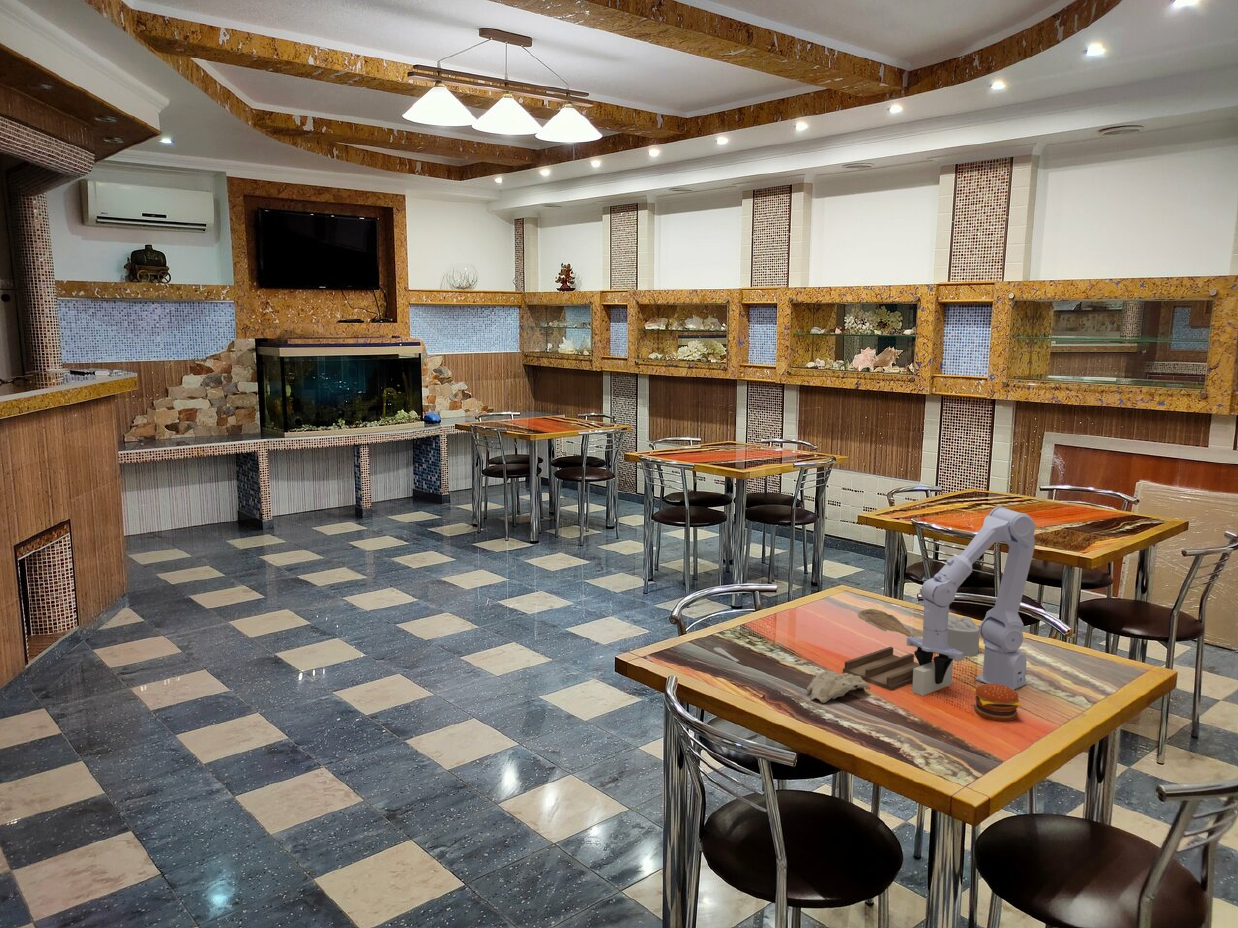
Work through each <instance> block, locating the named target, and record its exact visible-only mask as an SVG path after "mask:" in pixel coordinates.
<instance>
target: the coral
mask: <svg viewBox="0 0 1238 928" xmlns="http://www.w3.org/2000/svg"><path fill="white" fill-rule="evenodd" d="M857 689H865V690H869V691H870V690H871V689H872V687H871V685H870V684H869V682H867V681H865V680H862V678H861V677H860V676H854V675H853V674H848V673H841V674H839V673H838V672H836V671H831V670H823V671H822V672H819V673H815V674H814V675H813V677H812V678H811V681H810V683H809V685H808V686H807V687H806V691H807V692H808V693H810V701H813V700H815V699H816V700H817V699H818V701H820V703H823V704H825V703H826V702H828V701H829V700H831V699H832V700H835V699H837V698H839V697H844V696H845V694H847V693H848V692H850V691H854V690H857Z"/></svg>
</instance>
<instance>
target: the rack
mask: <svg viewBox="0 0 1238 928" xmlns="http://www.w3.org/2000/svg"><path fill="white" fill-rule="evenodd" d="M914 660H915V655H914V653H908V654H905V655H903V656H898V655H895V654H894V647H893V646H888V647H885V648H882V649H879V650H875V651H873V652H870V653H866V654H864V655H861V656H858V657H855V658H852V659H849V660H846V661H844V668H842V674H844V673H848V674H853V675H854V676H860V677H861V678H862V680H863V681H864V682H866V683H870V684H871V685H876V686H878V687H881V688H883V689H885V690H889V691H895V690H897V689H899V688H902V687H904V686H907V685H910V684H913V669H914V668H916V667H919V666H920V665H919V662H915V661H914ZM933 661H934V660H932V662H933Z"/></svg>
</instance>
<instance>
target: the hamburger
mask: <svg viewBox="0 0 1238 928" xmlns="http://www.w3.org/2000/svg"><path fill="white" fill-rule="evenodd" d="M972 692H973V693H974V694H975V705H974V711H975V713H976V714H977V715H978V716H981V717H983V718H985V719H988V720H992V721H996V722H997V721H998V722H1008V721H1009V722H1010V721H1013V720H1015V719H1017V717H1018V712H1017V708H1018V707H1019V708H1023V705H1022V704H1021V702H1020V700H1019V694H1018V692H1017V691H1016V690H1015V689H1014V690H1013V689H1011V688H1009V687H1007V686H1005V685H1001V684H993V683H983V684H982V685H979V686H977V687H976V688H973V689H972Z"/></svg>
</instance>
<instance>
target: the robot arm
mask: <svg viewBox="0 0 1238 928" xmlns="http://www.w3.org/2000/svg"><path fill="white" fill-rule="evenodd" d="M982 524H983V525H982V527H981V528H980V529H979V530H978V532H977V533H976V535H975V536H973V538H972V540H971V541H970V542H969V543H968V545H967V546H966V547H965V549H964V550H963V551H962V552H961V554H959V555H952V557H949V558H948V559H947V560H946V563H945V564H944V565H943V567H942V568H941V569H940V570H939V571H938V572H937V573H935V574H934V576H933V577H931V578H929V579H927V580H926V581H924V582H923V584H922V586H921V588H919V594H920V596H921V597H922V600H923V605H924V606H923V621H922V625H923V626H922V638H919V637H915V636H914V637H912V636H911V637H907V638H906V646H909V647H915V648H917V649H916V650H915V651H913V652H914V653H913V654H914V657H916V660H917V663H919V665H920V666H922V665H925V664H927V663H930V662H932V661H934V664H935V683H936V684H940V683H942V682H943V679H944V676H945V673H946V671H947V669H948V667H949V665H950V663H951V662H952V661H955V662H959V663H960V662H961V661H964V660H963V659H964V656H963V652H960V651H958V650H956V649H954V648H952V647H950V646H948V645H947V633H948V615H950V614H949V613H950V605H951V604H952V603H953V602H954V601H955V598H956V593H957V592H958V588H959V587H960V586H961V585H962V584H963V583H964V581H966V579H967V578H968V577H969V576H970V575H971V573H973V564H974V563H976V561H977V560H978V559H980V557H981V556H982V555H983V554H985V553H986V551H987V550H989V549H990V548H991V546H993V545H994V544H995V543H998V542H999V543H1000V542H1005V543H1006V544H1007V546H1008V553H1007V556H1006V561H1005V565H1004V568H1003V572H1002V576H1001V580H1000V585H999V588H998V592H997V596H996V601H995V605H994V607H992V608H991V609H989V610H988V611H986V612H985V613H986V614H985V617H984V619H982V621H981V622H980V624H979V632H980V635H979V636H980V637H981V638H982V639H983V644H984V651H983V665H982V666H983V667H982V674H981V675H979V676H976V677H975V678H974V679H975V681H978V682H981V683H983V684H987V683H993V684H1001V685H1005V686H1007V687H1009V688H1011V689H1013V690H1014V691H1015V690H1017V689H1019V688H1020V687H1023V686H1025V685H1027V681H1026V676H1027V675H1026V673H1027V657H1026V655H1025V654H1023V653H1021V652H1019V651H1018V650H1019V648H1021V646H1022V645H1023V643H1024V634H1023V633H1024V632H1023V630H1024V625H1025V624H1024V623H1023V620H1022V618H1021V617H1020V614H1019V611H1020V606H1021V602H1022V600H1023V594H1024V591H1025V586H1026V583H1027V579H1028V575H1029V572H1030V567H1031V564H1032V560H1033V556H1034V552H1035V546H1036V542H1035V541H1036V540H1035V539H1036V538H1035V531H1036V527H1037V524H1036V523H1035V521H1034V520H1033V518H1032V517H1031V516H1030V515H1029V514H1027V513H1024V512H1020V511H1019V512H1018V511H1016V510H1012V509H1009V508H1006V507H1003V506H997V507H995V508H993V509H992V510H990V512H989V514H988V515H986V517H985V518H984V519H983V523H982ZM935 654H937V655H936V656H934V655H935Z"/></svg>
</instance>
